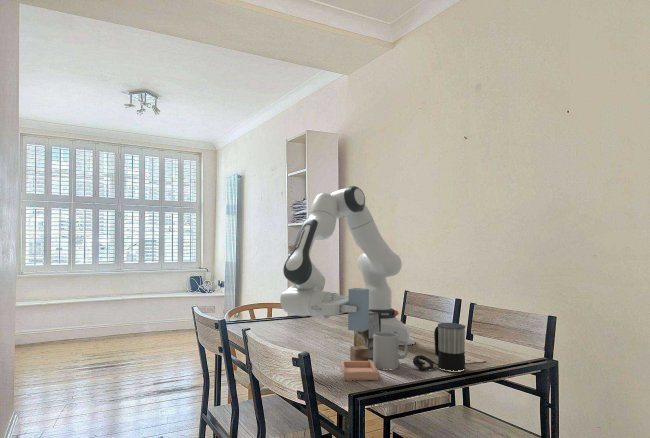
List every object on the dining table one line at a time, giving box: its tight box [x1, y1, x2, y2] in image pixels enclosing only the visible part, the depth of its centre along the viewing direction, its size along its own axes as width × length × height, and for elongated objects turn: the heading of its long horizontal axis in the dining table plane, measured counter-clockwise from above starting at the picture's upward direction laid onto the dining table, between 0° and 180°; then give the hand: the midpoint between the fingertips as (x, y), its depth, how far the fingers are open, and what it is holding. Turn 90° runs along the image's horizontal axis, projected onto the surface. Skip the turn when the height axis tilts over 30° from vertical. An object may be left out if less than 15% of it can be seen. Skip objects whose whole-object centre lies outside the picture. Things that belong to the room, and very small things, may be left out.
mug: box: [372, 332, 409, 371], centre depth 152 cm, size 12×8×11 cm
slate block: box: [347, 287, 369, 332], centre depth 144 cm, size 5×5×13 cm
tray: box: [340, 360, 379, 382], centre depth 143 cm, size 11×14×2 cm
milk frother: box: [412, 322, 466, 371], centre depth 151 cm, size 14×16×15 cm
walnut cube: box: [349, 345, 369, 361], centre depth 159 cm, size 5×5×5 cm
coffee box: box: [353, 311, 381, 359], centre depth 168 cm, size 9×6×16 cm
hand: (361, 307), depth 144 cm, fingers closed on slate block, 5 cm apart
